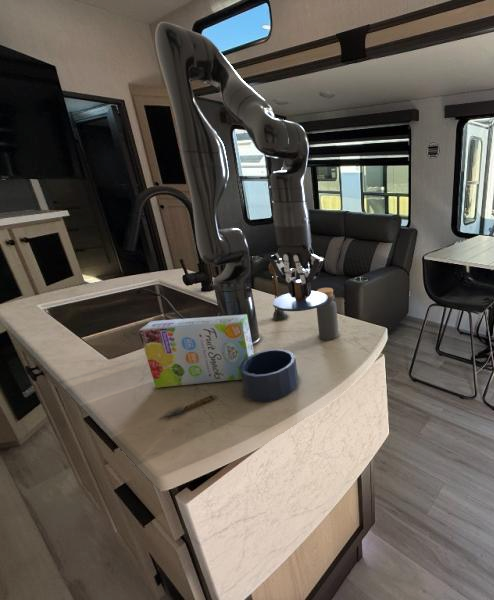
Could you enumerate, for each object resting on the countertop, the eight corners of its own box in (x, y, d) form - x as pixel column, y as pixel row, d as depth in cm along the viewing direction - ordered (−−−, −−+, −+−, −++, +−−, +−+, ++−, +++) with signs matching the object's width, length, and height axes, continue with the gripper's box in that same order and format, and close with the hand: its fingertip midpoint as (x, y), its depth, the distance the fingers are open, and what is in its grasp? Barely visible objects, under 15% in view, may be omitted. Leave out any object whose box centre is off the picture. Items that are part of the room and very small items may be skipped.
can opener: (212, 398, 70) (211, 393, 70) (215, 403, 69) (214, 399, 68) (163, 416, 65) (162, 412, 64) (164, 423, 63) (163, 418, 63)
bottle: (334, 341, 95) (330, 293, 90) (316, 339, 96) (311, 292, 91) (341, 332, 100) (338, 287, 95) (324, 330, 102) (320, 286, 96)
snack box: (257, 367, 82) (247, 313, 76) (252, 379, 76) (241, 322, 71) (166, 375, 78) (149, 319, 73) (154, 389, 73) (135, 329, 68)
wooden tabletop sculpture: (279, 313, 115) (272, 259, 108) (291, 314, 114) (284, 260, 107) (270, 320, 110) (262, 263, 103) (282, 321, 109) (274, 264, 102)
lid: (261, 310, 72) (257, 286, 70) (293, 293, 83) (290, 272, 81) (311, 316, 69) (308, 291, 67) (337, 297, 80) (335, 275, 78)
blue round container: (233, 397, 70) (227, 371, 68) (266, 369, 81) (262, 346, 78) (278, 405, 67) (274, 379, 65) (307, 375, 78) (304, 352, 76)
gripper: (328, 222, 71) (334, 294, 77) (275, 220, 75) (284, 289, 81) (311, 226, 64) (319, 305, 70) (253, 223, 68) (265, 299, 74)
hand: (300, 296), depth 76 cm, fingers closed on lid, 2 cm apart
